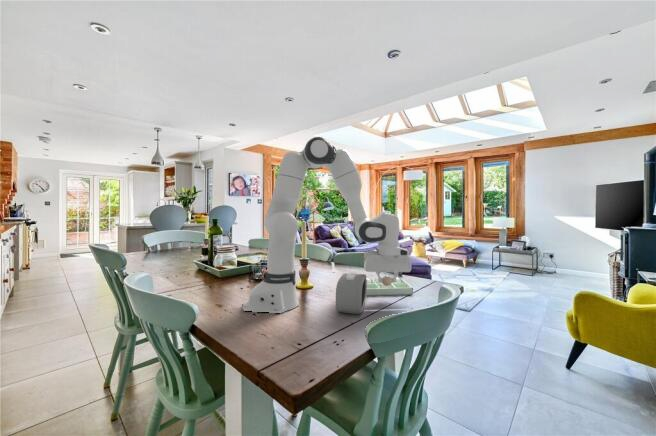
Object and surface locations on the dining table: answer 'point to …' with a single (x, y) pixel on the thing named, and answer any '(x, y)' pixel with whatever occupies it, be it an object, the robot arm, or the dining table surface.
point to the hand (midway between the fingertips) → (386, 281)
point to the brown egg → (387, 280)
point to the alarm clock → (351, 293)
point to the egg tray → (395, 289)
